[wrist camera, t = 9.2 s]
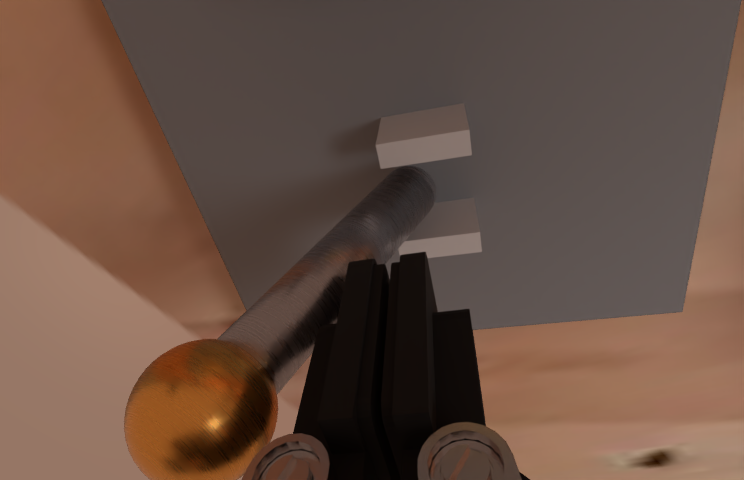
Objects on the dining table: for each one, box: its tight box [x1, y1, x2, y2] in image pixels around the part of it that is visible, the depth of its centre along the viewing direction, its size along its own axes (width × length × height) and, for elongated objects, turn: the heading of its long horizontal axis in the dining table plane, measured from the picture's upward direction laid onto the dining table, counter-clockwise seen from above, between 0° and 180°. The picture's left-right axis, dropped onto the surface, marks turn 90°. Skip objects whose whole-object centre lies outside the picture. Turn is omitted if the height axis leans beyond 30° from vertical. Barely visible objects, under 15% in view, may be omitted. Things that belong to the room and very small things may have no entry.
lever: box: [124, 166, 437, 480], centre depth 11 cm, size 3×3×10 cm
